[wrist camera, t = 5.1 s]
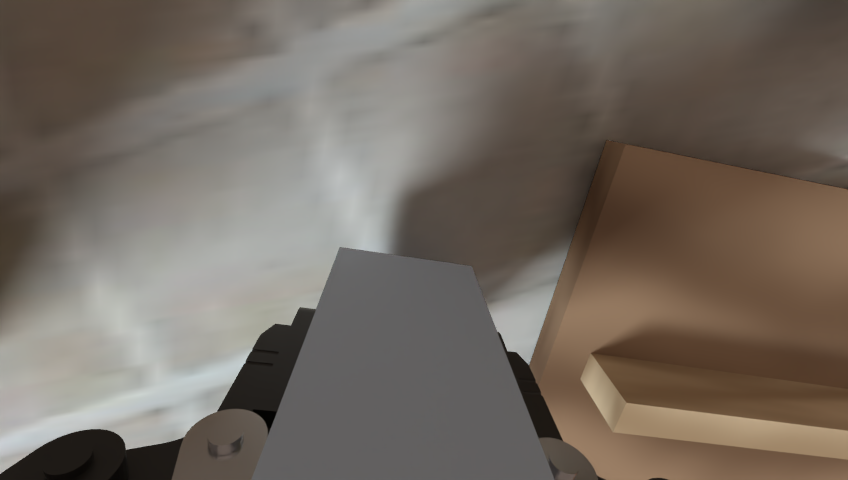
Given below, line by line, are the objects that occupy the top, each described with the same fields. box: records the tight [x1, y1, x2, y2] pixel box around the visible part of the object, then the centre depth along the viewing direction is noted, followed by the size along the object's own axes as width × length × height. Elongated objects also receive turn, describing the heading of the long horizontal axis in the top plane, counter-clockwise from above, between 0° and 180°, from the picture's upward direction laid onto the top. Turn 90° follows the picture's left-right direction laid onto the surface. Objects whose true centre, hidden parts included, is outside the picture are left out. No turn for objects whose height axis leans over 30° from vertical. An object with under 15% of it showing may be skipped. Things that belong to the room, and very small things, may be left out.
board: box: [529, 140, 848, 480], centre depth 16 cm, size 20×16×4 cm
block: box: [251, 247, 555, 480], centre depth 8 cm, size 4×4×9 cm
